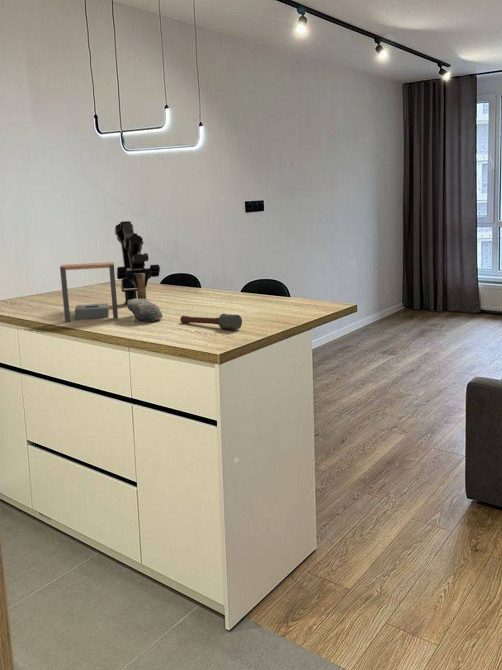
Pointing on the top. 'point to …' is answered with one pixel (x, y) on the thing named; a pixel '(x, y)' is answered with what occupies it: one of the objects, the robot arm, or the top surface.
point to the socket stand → (90, 309)
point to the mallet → (216, 321)
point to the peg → (141, 286)
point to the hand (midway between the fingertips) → (141, 286)
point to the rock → (144, 310)
